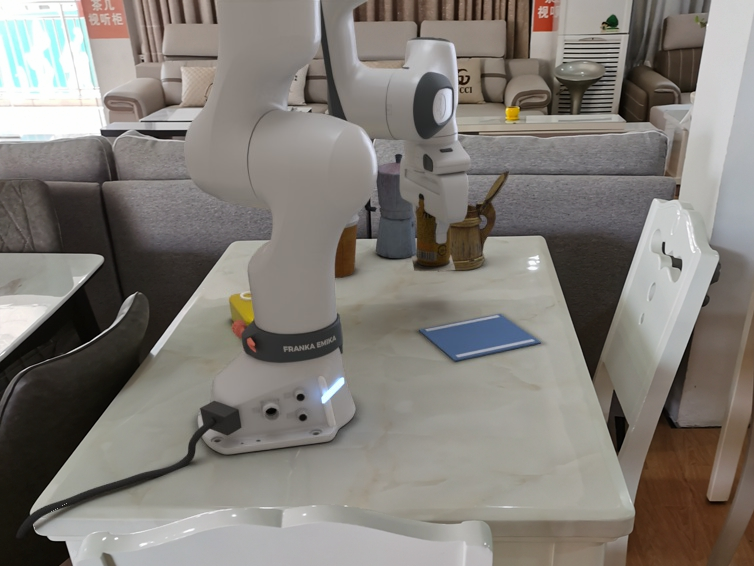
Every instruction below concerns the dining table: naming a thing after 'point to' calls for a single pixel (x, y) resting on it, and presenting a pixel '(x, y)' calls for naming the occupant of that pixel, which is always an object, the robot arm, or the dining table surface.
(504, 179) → the wooden mug
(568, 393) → the dining table surface
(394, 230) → the moka pot
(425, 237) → the condiment
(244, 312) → the element tile
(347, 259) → the disposable coffee cup
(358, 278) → the dining table surface
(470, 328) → the napkin
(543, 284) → the dining table surface
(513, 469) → the dining table surface
